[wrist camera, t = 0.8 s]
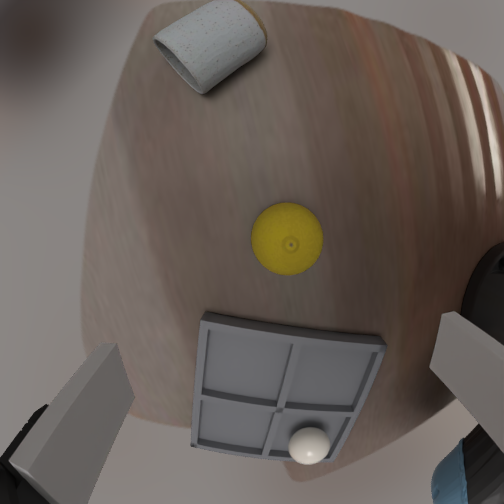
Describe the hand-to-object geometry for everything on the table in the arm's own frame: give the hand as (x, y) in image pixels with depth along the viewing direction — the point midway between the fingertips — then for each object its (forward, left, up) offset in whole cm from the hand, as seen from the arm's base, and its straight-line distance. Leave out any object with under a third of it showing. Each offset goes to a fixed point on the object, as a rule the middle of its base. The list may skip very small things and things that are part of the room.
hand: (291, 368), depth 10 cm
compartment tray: (-3, +15, -17) cm, 22 cm away
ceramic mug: (+10, -21, -17) cm, 29 cm away
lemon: (0, -3, -17) cm, 17 cm away
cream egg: (-7, +19, -16) cm, 26 cm away
